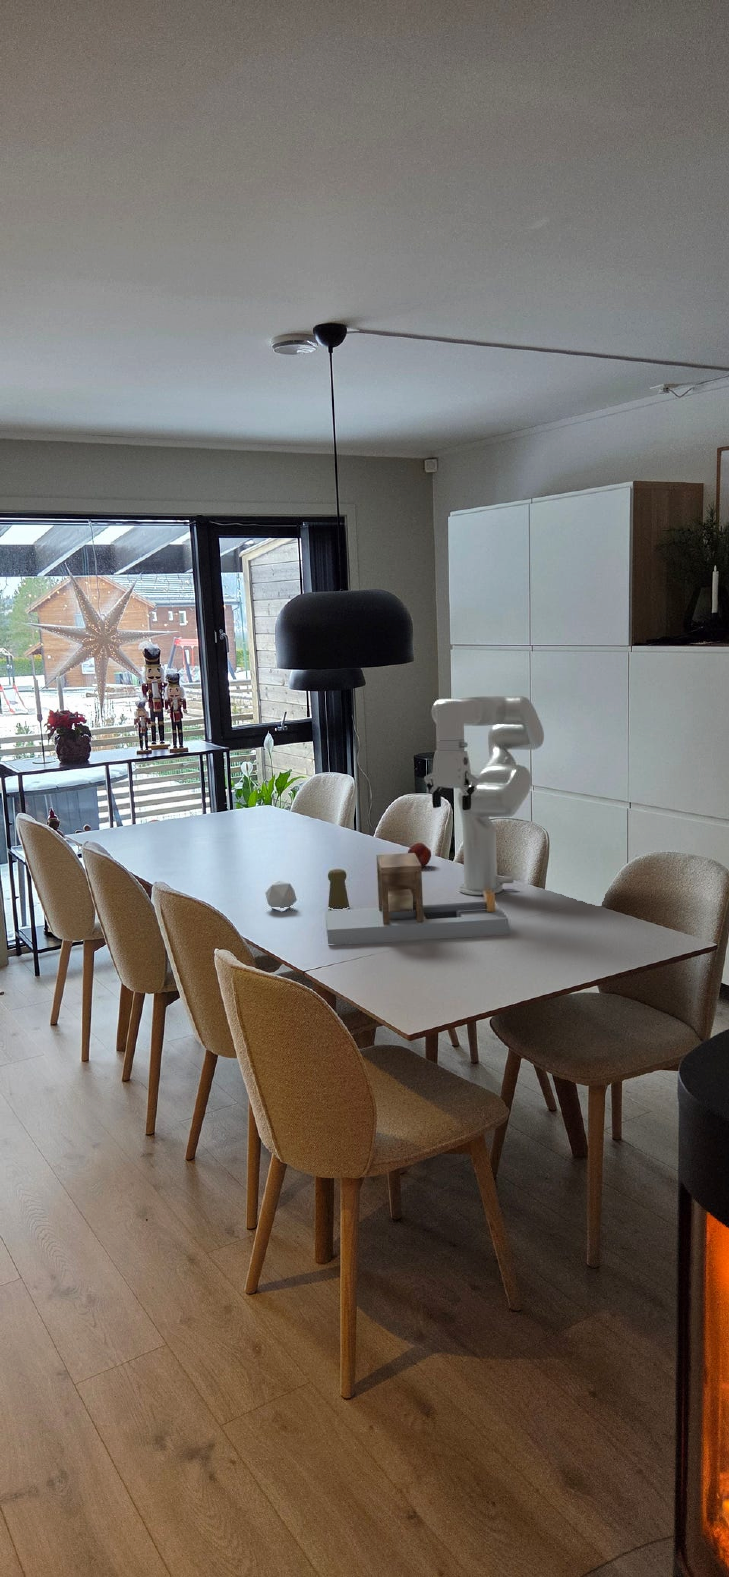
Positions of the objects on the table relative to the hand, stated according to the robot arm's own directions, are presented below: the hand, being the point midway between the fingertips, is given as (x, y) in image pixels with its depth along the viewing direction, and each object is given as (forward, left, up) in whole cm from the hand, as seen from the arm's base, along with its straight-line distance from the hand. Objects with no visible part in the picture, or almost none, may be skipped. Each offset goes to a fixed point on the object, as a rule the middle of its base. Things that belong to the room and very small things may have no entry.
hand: (451, 808), depth 284 cm
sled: (+7, +21, -23) cm, 32 cm away
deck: (+14, +21, -27) cm, 37 cm away
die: (+48, -7, -28) cm, 56 cm away
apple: (+4, -50, -28) cm, 57 cm away
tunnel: (+17, +21, -23) cm, 36 cm away
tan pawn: (+32, -5, -28) cm, 43 cm away
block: (+17, +21, -23) cm, 36 cm away
